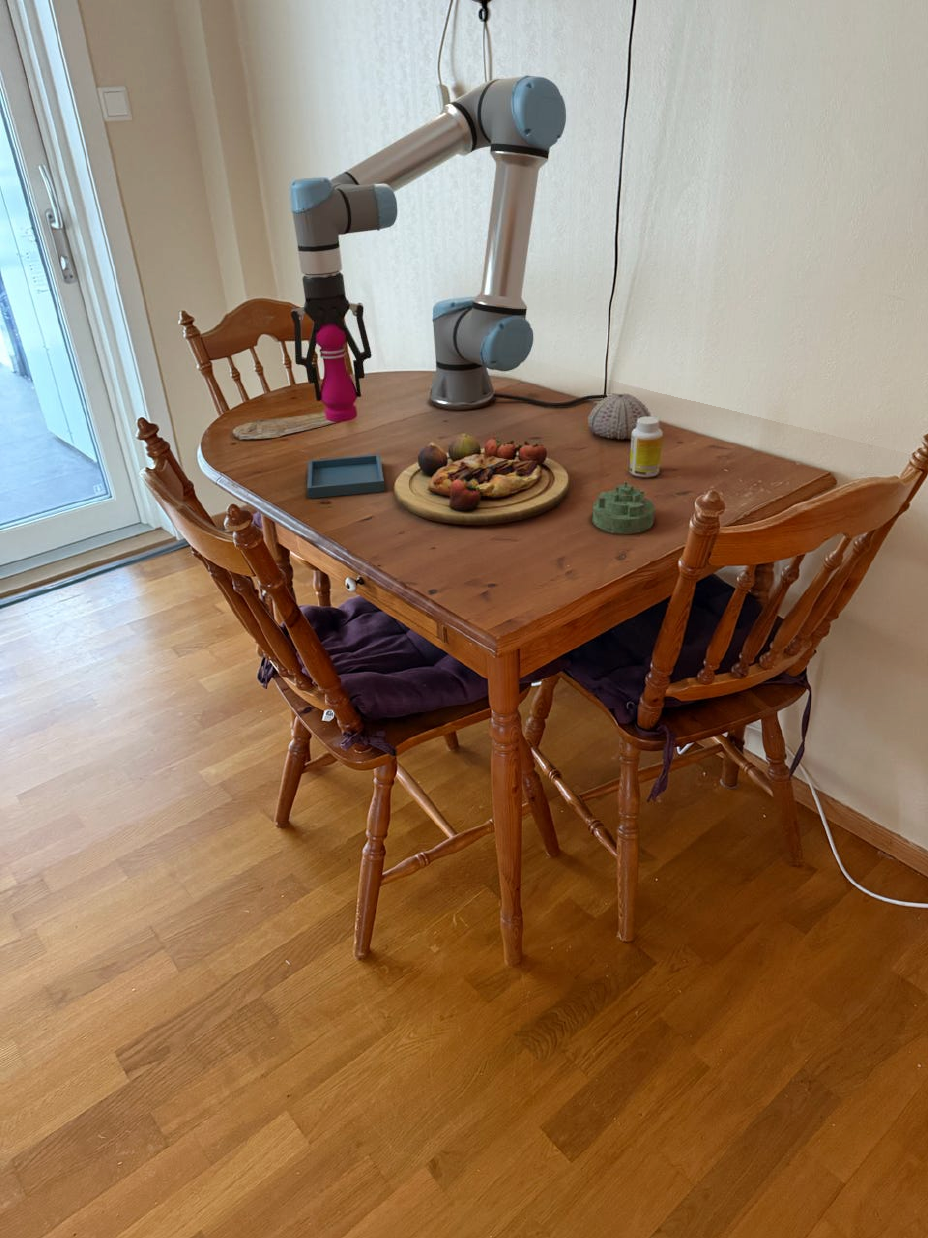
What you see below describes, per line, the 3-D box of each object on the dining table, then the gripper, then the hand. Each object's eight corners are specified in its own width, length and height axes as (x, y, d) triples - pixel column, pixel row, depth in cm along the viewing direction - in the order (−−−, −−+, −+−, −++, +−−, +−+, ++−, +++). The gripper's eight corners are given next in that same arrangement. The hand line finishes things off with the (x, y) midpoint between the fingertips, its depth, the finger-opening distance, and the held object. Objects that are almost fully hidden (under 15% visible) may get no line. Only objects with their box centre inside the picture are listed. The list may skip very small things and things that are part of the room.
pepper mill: (366, 412, 168) (354, 309, 158) (347, 424, 163) (333, 318, 152) (336, 409, 171) (322, 307, 160) (316, 420, 166) (300, 316, 155)
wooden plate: (522, 543, 134) (521, 495, 129) (359, 509, 148) (354, 465, 143) (596, 473, 157) (598, 430, 153) (450, 449, 171) (448, 409, 167)
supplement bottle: (665, 474, 155) (670, 421, 150) (640, 480, 153) (645, 426, 148) (647, 465, 159) (651, 412, 154) (623, 471, 157) (626, 418, 152)
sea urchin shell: (598, 419, 183) (599, 383, 178) (659, 426, 177) (662, 388, 173) (578, 439, 172) (579, 401, 168) (643, 447, 167) (646, 408, 163)
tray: (380, 463, 166) (379, 453, 165) (385, 491, 154) (383, 480, 153) (309, 470, 165) (308, 460, 163) (308, 498, 153) (307, 487, 152)
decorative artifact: (599, 505, 145) (586, 530, 137) (601, 467, 141) (588, 490, 133) (658, 511, 142) (647, 537, 134) (661, 472, 138) (651, 496, 130)
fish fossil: (332, 408, 197) (332, 403, 197) (352, 422, 190) (352, 417, 190) (227, 430, 185) (227, 425, 185) (244, 446, 178) (244, 441, 178)
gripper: (376, 265, 157) (388, 386, 169) (267, 274, 155) (288, 395, 167) (378, 272, 150) (390, 397, 163) (265, 281, 149) (287, 407, 161)
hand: (339, 396), depth 165 cm, fingers closed on pepper mill, 7 cm apart
